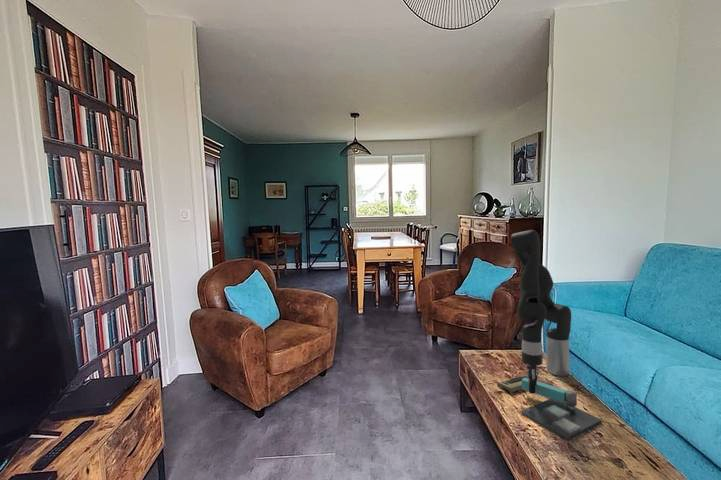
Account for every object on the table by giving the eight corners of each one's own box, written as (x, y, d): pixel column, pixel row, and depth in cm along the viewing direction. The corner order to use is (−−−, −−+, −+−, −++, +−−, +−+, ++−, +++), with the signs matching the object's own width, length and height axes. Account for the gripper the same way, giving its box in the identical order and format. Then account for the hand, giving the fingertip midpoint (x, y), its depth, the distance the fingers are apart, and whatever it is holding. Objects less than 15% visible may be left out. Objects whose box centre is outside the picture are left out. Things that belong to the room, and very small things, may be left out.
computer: (522, 379, 158) (522, 372, 158) (537, 387, 150) (537, 379, 150) (496, 386, 152) (496, 379, 152) (510, 395, 145) (510, 387, 144)
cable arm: (577, 403, 131) (577, 392, 130) (575, 407, 128) (575, 396, 128) (524, 386, 145) (524, 376, 145) (521, 389, 143) (521, 379, 142)
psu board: (554, 399, 139) (554, 393, 139) (601, 423, 123) (601, 416, 123) (521, 413, 130) (521, 407, 130) (567, 440, 114) (567, 433, 114)
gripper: (520, 344, 144) (520, 384, 145) (522, 355, 132) (523, 398, 133) (540, 346, 141) (540, 386, 142) (544, 358, 129) (544, 402, 130)
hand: (532, 392), depth 137 cm, fingers closed
